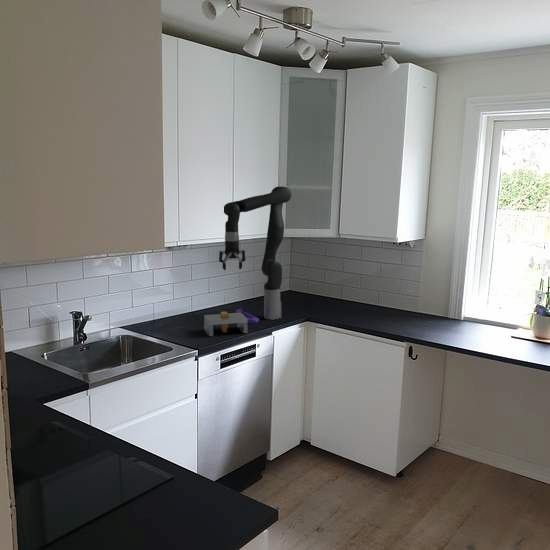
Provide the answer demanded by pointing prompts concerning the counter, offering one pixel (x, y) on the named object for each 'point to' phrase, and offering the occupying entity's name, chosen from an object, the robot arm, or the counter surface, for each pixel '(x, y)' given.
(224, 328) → the orange rectangular block
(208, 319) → the grey slotted platform
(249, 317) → the bracket
